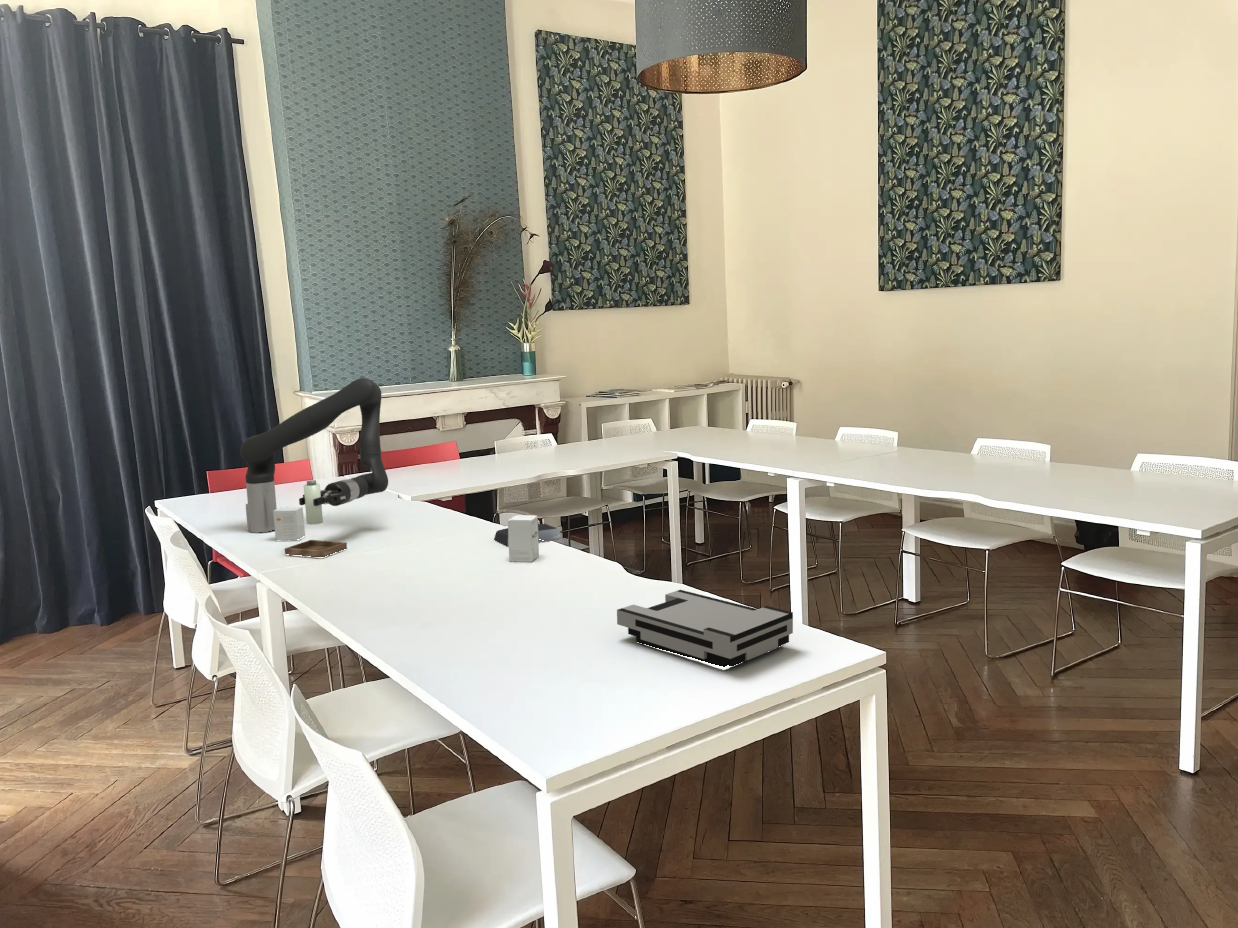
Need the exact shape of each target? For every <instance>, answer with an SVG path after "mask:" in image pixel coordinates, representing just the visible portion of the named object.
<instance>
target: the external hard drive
mask: <svg viewBox="0 0 1238 928" xmlns="http://www.w3.org/2000/svg"><path fill="white" fill-rule="evenodd" d="M539 539H541V540H539ZM494 540H495V542H496V541H497V543H498V542H499V544H501V545H502V546H505V547H508V548H509V539H508V527H506V528H502V529H498V530H496V532H495V534H494V539H493V541H494ZM542 540H544V541H542ZM559 540H563V535H562V533H561V530H560V529H559V528H558V527H555V526H551V525H550V524H547V523H538V542H539V544H541V543H540V542H542V543H545V541H548V542H553V541H559Z"/></svg>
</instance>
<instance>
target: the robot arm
mask: <svg viewBox="0 0 1238 928" xmlns="http://www.w3.org/2000/svg"><path fill="white" fill-rule="evenodd" d="M381 405H382V389H381V387H380V386H379V385H378V384H377V383H375V382H374V381H372V380H371V379H369V378H366V377H361V378H357V379H355V380H353V381H352V382H350V383H349V384H347V385H346V386H344V387H343V388H341V389H339V390H338V391H337V392H335V393H334V394H331V395H330V396H327V397H325V398H323V399H321V400H319V401H317V402H315V403H314V404H311V405H310V406H307V407H305V408H303V409H302V410H299V411H298V412H296V413H295V414H292V415H291V416H290V417H288V418H286V419H285V420H283V421H282V422H280V423H278V424H277V425H276V426H275V427H273V428H271V429H269V430H267V431H265V432H262V433H259V434H255V435H253V436H250V437H248V438H247V439H245V440H244V441H243V442H242V444H241V446H240V449H239V450H240V451H239V453H240V456H241V458H242V459H243V460H244V462H247V470H246V473H245V486H246V488H245V489H246V497H247V499H246V500H247V503H246V504H245V512H246V526H247V531H248V532H251V533H253V534H254V533H255V534H258V533H259V532H263V533H269V532H268V531H271V532H273V531H272V530H275V526H274V515H273V511H274V510H276V509H278V508H277V498H276V497H277V496H276V485H275V471H276V464H275V463H276V462H275V460H276V459H275V453H276V452H278V451H279V450H282V449H283V448H285V447H288V446H290V445H293V444H296V443H298V442H301V441H302V440H305V439H308V438H309V437H313V436H314V435H317V434H318V433H320V432H322V431H324V430H325V429H327V428H329V426H331V425H332V423H334V422H335V421H336V419H337V418H338V417H340V416H341V415H342V414H344V413H345V412H348V411H349V410H351V409H354V408H356V407H358V406H359V409H360V413H361V426H360V427H361V428H360V435H359V441H358V442H359V445H358V446H359V448H358V449H359V459H360V464H361V466H363V467H366V468H367V467H368V468H370V469H371V472H369V473H364V474H361V475H357V476H356V477H352V478H348V479H341V480H339V481H334V482H330V483H328V484H327V485H326V486H325V487H324V489H320V493H321V497H319V498H316V499H314V500H313V504H314V506H318V505H330V506H332V507H337V506H341V505H344V504H348V503H351V502H353V501H355V500H358V499H360V498H363V497H365V496H367V495H372V494H373V495H374V494H377V493H383V492H385V491H386V490H387V488H388V486H389V478H388V474H387V472H386V469H385V466H384V463H383V459H382V450H381V448H382V446H381V435H380V433H381V432H380V431H381V430H380V422H381V421H380V418H381V416H380V414H381ZM298 501H299V502H298V503H299V506H304V505H305V497H304V494H302V497H299V499H298ZM259 534H260V533H259Z"/></svg>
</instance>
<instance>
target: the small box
mask: <svg viewBox="0 0 1238 928" xmlns="http://www.w3.org/2000/svg"><path fill="white" fill-rule="evenodd" d="M273 515H274V526H275V531H274V535H275V541H276V540H297V539H300V538H302V537H303V536H305V537H306V531H305V519H304V509H303V506H295V507H294V506H291V507H289V506H285V507H282V506H281V507H278V508H277V509H276V510H274V511H273Z"/></svg>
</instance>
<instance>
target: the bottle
mask: <svg viewBox="0 0 1238 928" xmlns="http://www.w3.org/2000/svg"><path fill="white" fill-rule="evenodd" d="M320 491H321V484H320V483H317V480H315V479H313V480H312V479H310V480H307V481H306V484H303V495H304V497H305V516H306V518H305V519H306V524H307V525H320V524H322V523H324V518H323V517H324V516H323V508H322V507H323V506H322V505H323V504H322V505H318V506H314V504H313V500H314V499H316V498H319V497H321V493H320Z"/></svg>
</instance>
